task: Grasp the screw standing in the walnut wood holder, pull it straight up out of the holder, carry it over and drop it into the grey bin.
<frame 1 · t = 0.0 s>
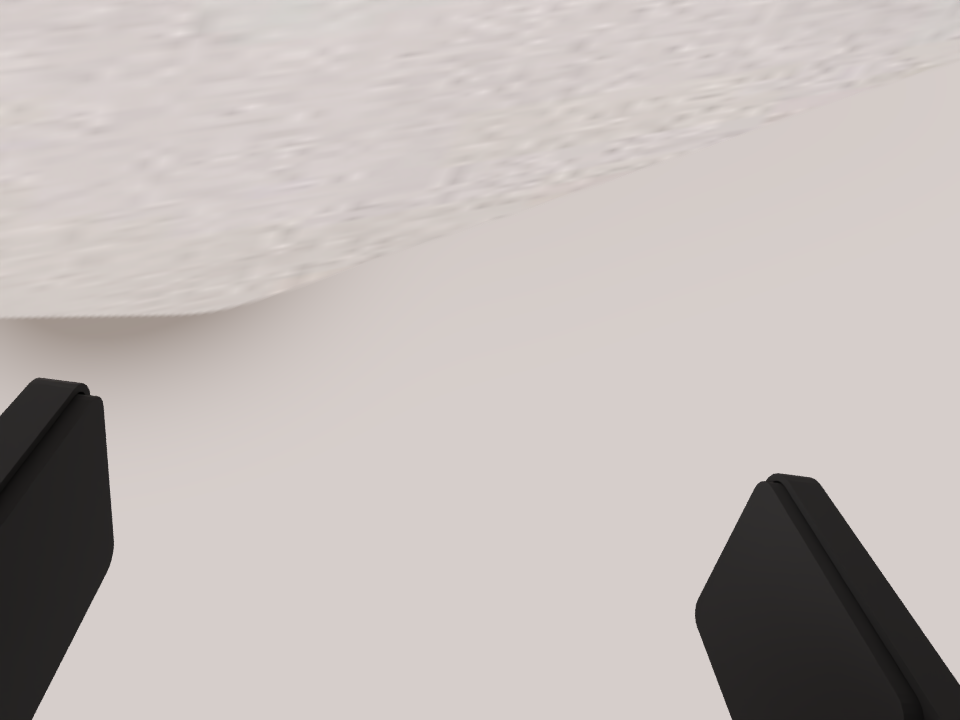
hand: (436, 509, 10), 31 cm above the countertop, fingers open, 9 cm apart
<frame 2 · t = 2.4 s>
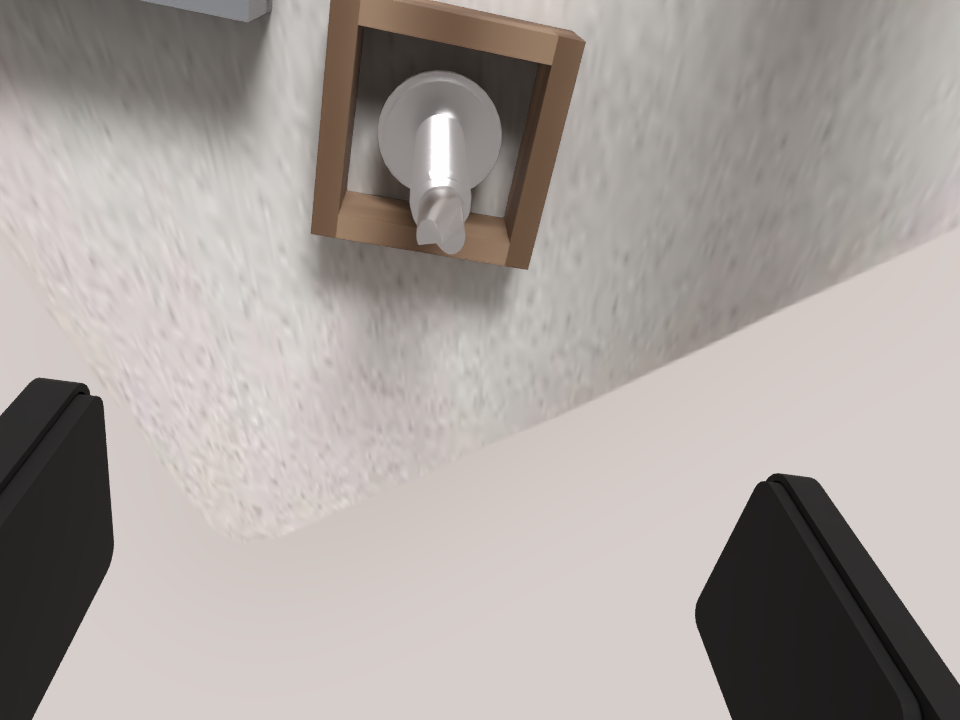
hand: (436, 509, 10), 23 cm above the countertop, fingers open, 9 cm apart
screw: (439, 123, 30), on the countertop
holder: (439, 124, 30), on the countertop
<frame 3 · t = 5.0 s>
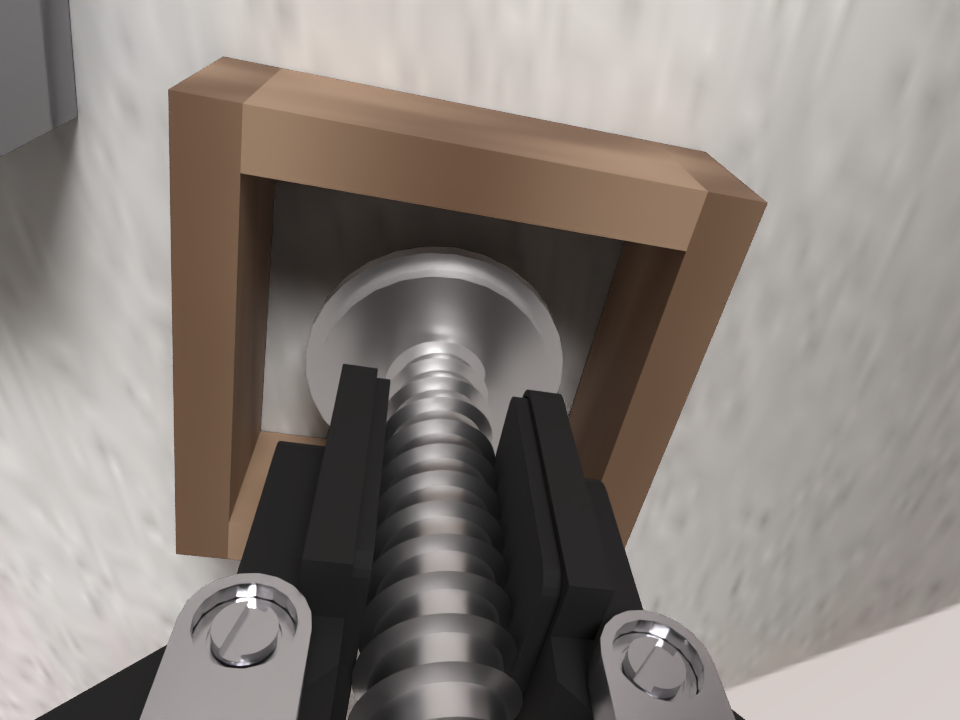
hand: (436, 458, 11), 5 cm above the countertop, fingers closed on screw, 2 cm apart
screw: (435, 316, 16), on the countertop, touching gripper
holder: (435, 321, 15), on the countertop
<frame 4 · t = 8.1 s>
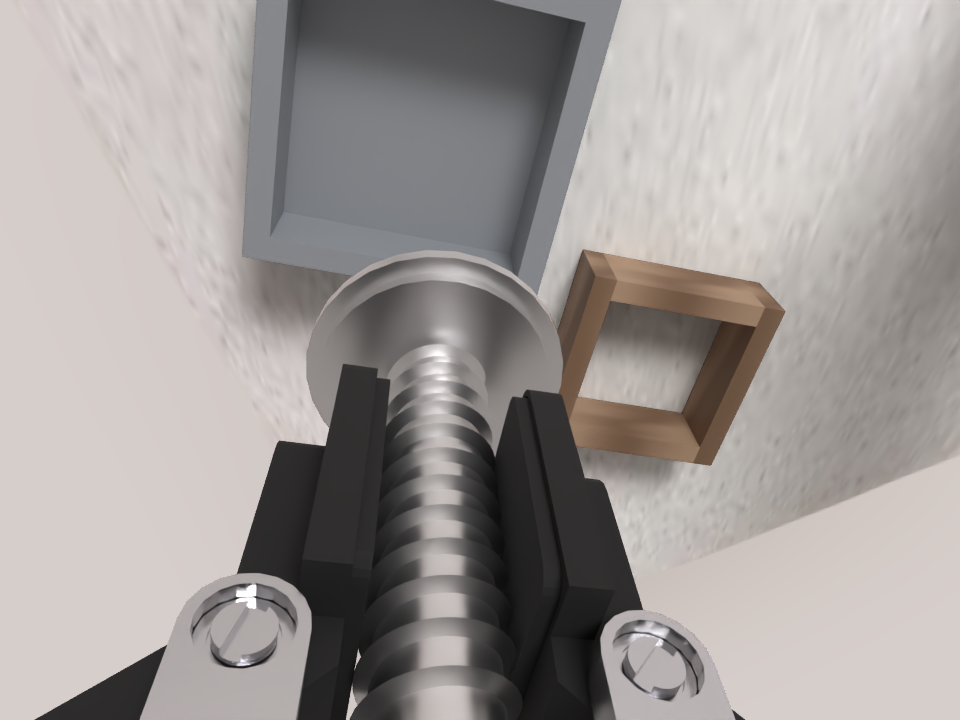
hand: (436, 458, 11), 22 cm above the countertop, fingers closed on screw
screw: (435, 319, 16), point 17 cm above the countertop, touching gripper
holder: (642, 347, 36), on the countertop
bin: (419, 113, 30), on the countertop
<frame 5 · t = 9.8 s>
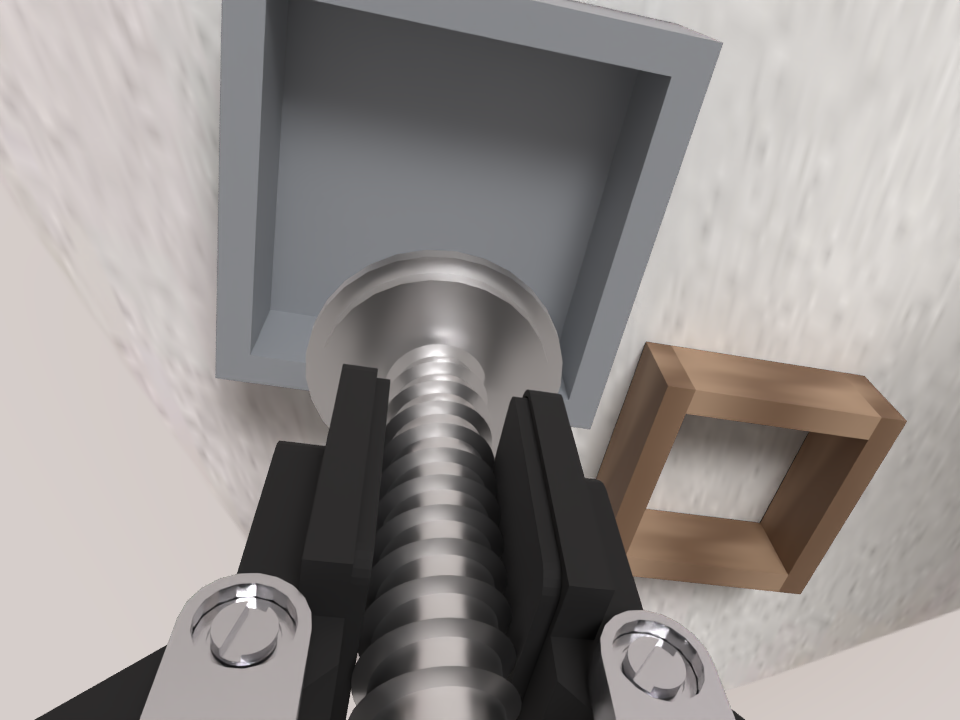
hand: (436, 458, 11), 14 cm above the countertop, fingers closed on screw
screw: (435, 319, 16), point 9 cm above the countertop, touching gripper
holder: (715, 451, 30), on the countertop
bin: (441, 184, 23), on the countertop
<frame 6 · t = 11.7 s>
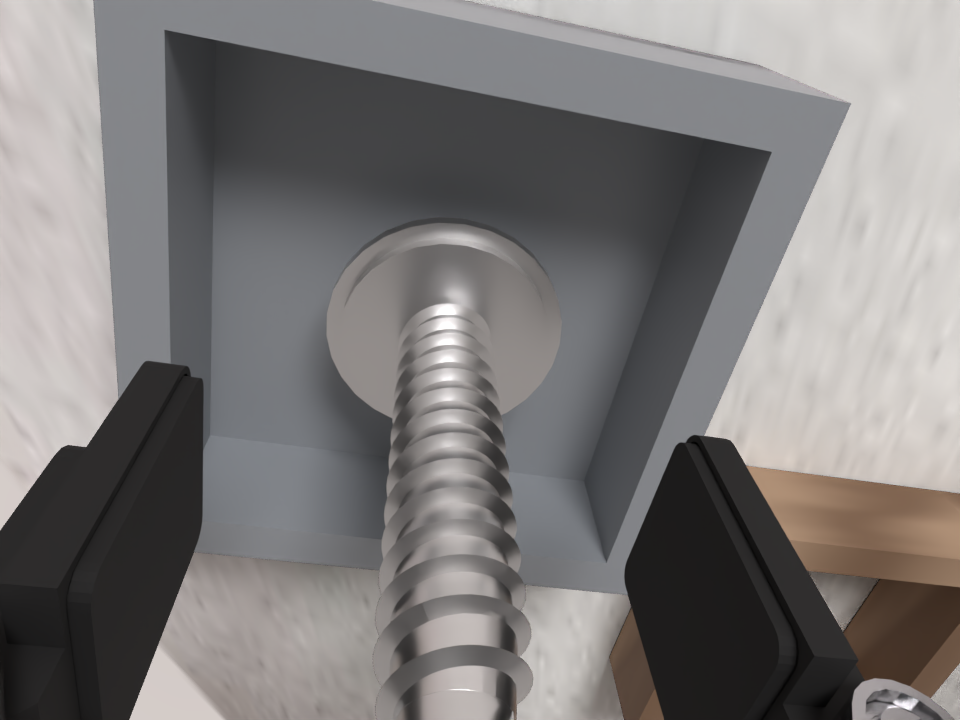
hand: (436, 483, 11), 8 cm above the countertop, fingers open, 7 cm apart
screw: (443, 286, 17), point 1 cm above the countertop, touching bin
holder: (777, 581, 24), on the countertop
bin: (435, 273, 18), on the countertop
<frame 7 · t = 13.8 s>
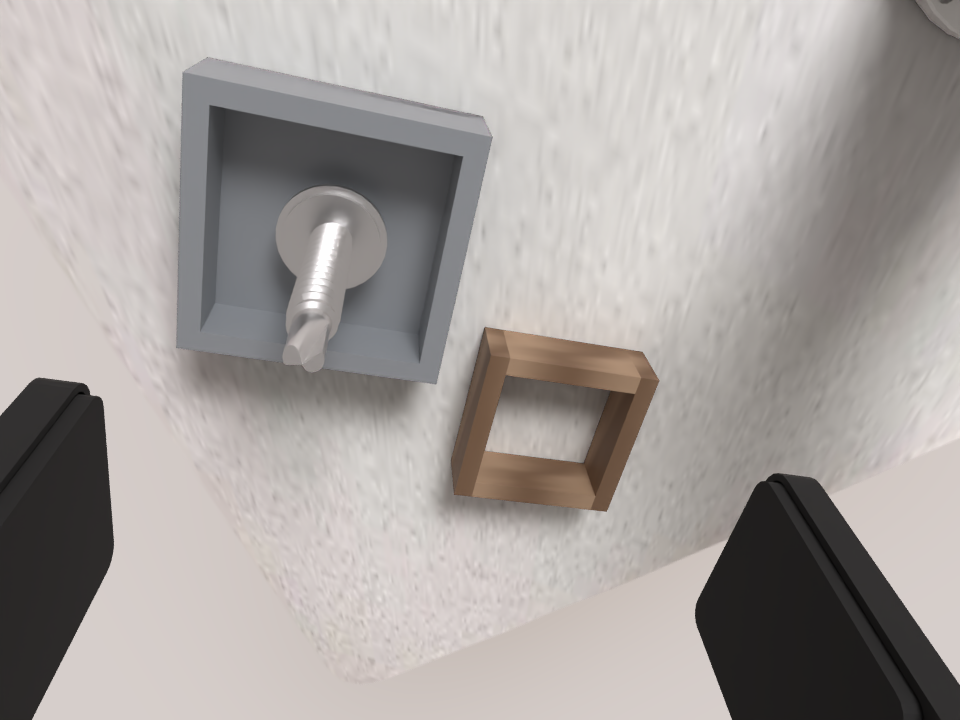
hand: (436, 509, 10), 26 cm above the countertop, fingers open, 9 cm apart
screw: (336, 222, 34), point 1 cm above the countertop, touching bin
holder: (543, 408, 41), on the countertop
bin: (333, 217, 34), on the countertop
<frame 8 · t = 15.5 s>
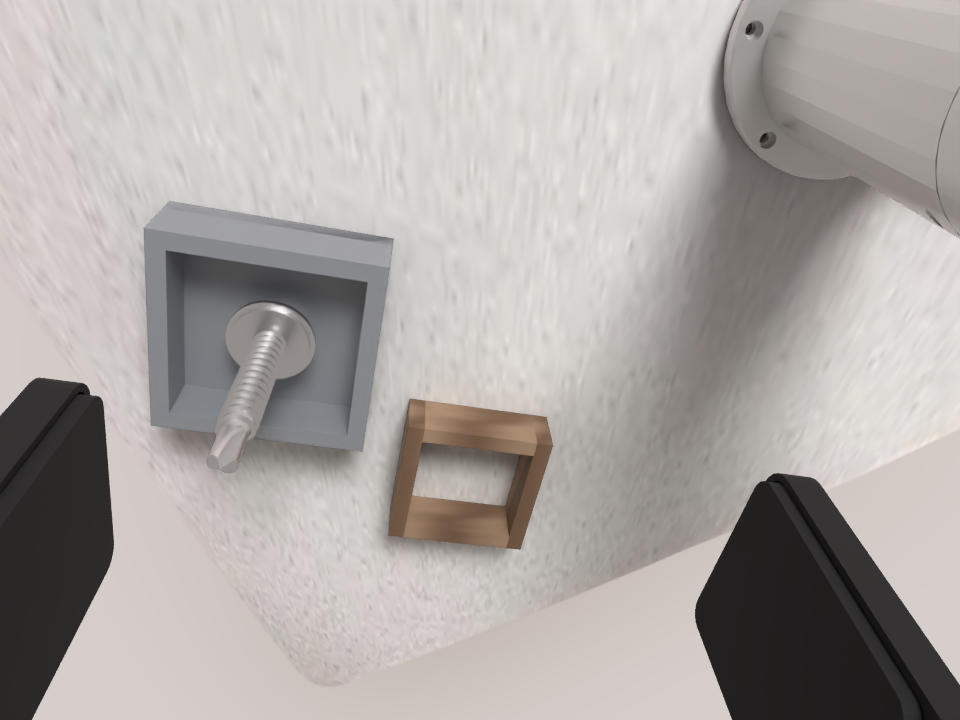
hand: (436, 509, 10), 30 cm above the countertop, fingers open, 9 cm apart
screw: (278, 322, 42), point 1 cm above the countertop, touching bin
holder: (466, 462, 49), on the countertop
bin: (277, 316, 42), on the countertop
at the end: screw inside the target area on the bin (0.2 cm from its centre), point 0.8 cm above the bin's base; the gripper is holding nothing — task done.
